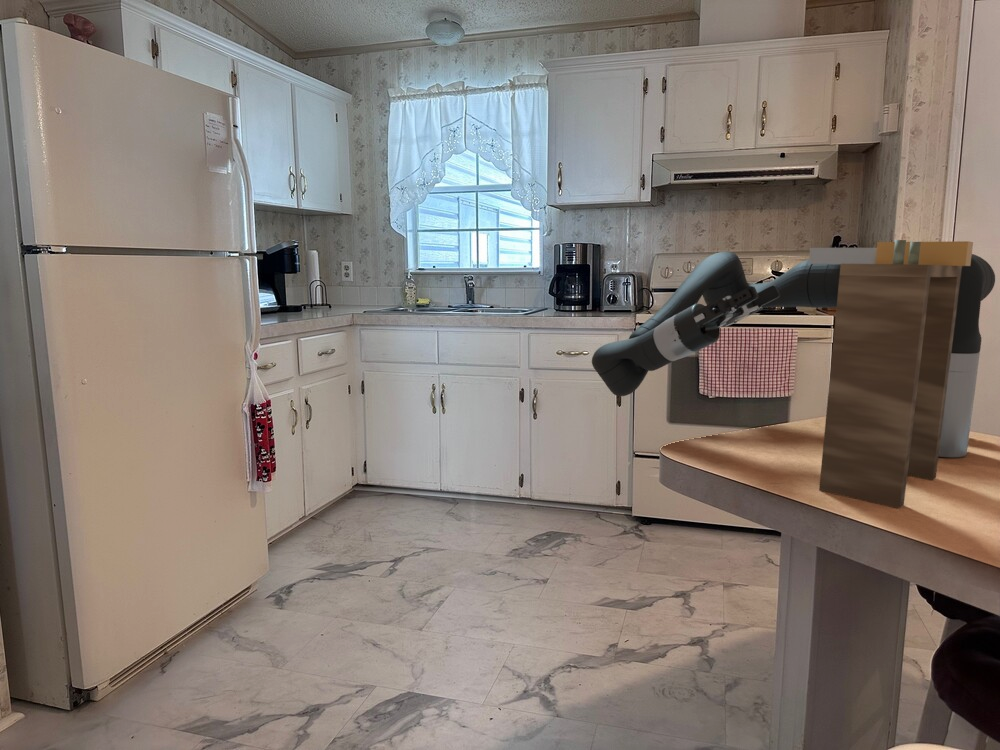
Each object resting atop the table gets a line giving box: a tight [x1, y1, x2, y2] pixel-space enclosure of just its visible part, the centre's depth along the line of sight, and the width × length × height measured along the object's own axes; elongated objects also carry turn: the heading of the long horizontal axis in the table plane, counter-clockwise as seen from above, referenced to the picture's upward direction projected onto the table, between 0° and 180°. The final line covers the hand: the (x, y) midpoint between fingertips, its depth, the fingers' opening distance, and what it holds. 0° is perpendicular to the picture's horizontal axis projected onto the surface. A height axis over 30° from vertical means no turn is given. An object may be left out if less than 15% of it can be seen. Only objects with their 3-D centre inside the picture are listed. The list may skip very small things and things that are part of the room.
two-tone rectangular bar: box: [808, 240, 974, 266], centre depth 100 cm, size 3×20×3 cm, turn 46°
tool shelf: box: [818, 239, 962, 510], centre depth 96 cm, size 19×10×34 cm, turn 136°
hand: (766, 290), depth 112 cm, fingers open, 8 cm apart
